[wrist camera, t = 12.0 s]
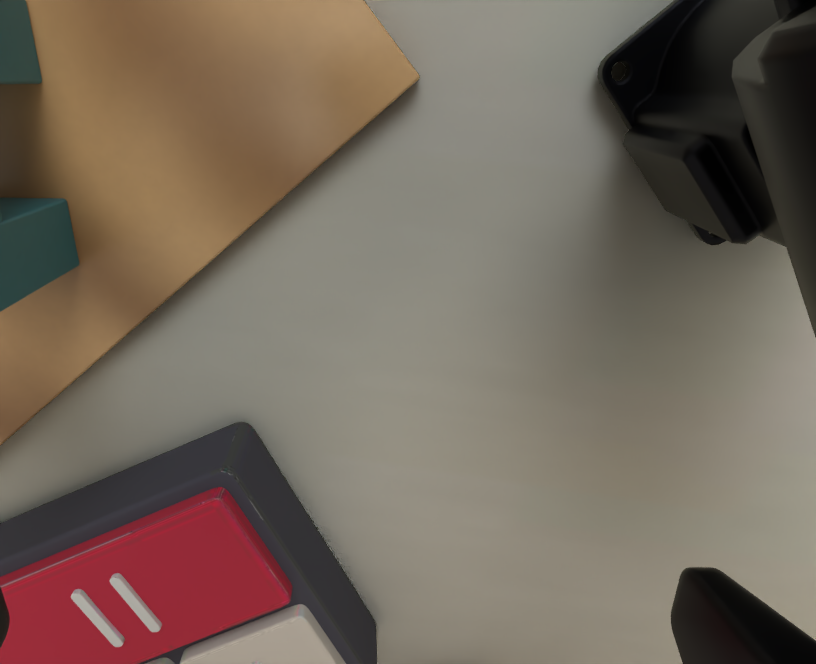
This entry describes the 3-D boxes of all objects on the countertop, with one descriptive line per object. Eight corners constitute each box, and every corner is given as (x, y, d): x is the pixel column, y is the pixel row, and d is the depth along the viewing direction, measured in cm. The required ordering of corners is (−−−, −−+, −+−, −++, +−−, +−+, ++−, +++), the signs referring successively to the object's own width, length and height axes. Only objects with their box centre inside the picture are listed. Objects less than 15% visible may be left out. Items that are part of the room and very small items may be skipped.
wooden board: (70, -398, 13) (54, -419, 12) (420, 77, 17) (421, 77, 16) (-374, 200, 17) (-399, 203, 17) (-22, 464, 21) (-33, 474, 21)
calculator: (382, 713, 21) (19, 846, 23) (379, 614, 25) (71, 733, 27) (224, 480, 17) (-206, 659, 19) (251, 406, 21) (-105, 559, 23)
